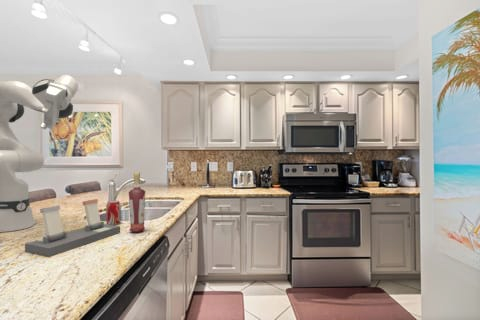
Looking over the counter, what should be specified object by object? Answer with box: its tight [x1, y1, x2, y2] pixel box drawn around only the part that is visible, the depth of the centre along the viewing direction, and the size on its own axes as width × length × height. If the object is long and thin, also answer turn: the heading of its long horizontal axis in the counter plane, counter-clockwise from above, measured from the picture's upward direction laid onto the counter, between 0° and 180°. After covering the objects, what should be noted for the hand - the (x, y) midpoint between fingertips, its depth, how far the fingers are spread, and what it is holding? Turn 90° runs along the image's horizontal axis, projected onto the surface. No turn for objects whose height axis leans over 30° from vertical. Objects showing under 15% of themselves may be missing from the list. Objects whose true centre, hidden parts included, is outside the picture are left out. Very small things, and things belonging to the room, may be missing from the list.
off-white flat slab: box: [81, 198, 102, 230], centre depth 114 cm, size 2×6×13 cm, turn 158°
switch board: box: [24, 221, 121, 258], centre depth 106 cm, size 14×31×5 cm, turn 158°
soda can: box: [105, 200, 122, 226], centre depth 134 cm, size 7×7×12 cm
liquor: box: [128, 171, 146, 234], centre depth 120 cm, size 7×7×28 cm
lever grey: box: [39, 205, 64, 241], centre depth 99 cm, size 2×6×13 cm, turn 158°
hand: (43, 120), depth 104 cm, fingers open, 8 cm apart
